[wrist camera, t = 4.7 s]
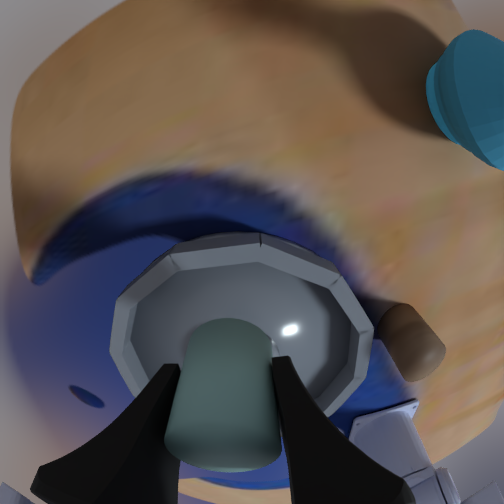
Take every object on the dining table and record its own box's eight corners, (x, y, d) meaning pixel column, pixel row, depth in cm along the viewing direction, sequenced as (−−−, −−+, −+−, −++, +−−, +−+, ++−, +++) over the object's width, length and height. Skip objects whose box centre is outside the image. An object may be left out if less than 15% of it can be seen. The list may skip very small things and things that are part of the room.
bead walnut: (411, 335, 20) (437, 373, 15) (374, 344, 20) (397, 387, 16) (418, 299, 19) (451, 336, 14) (380, 308, 19) (408, 349, 14)
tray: (347, 402, 23) (354, 423, 20) (166, 416, 23) (160, 438, 21) (363, 216, 16) (381, 228, 14) (94, 250, 17) (74, 266, 14)
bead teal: (274, 376, 12) (283, 469, 7) (199, 380, 12) (183, 470, 7) (268, 313, 11) (279, 418, 6) (179, 321, 11) (146, 419, 6)
